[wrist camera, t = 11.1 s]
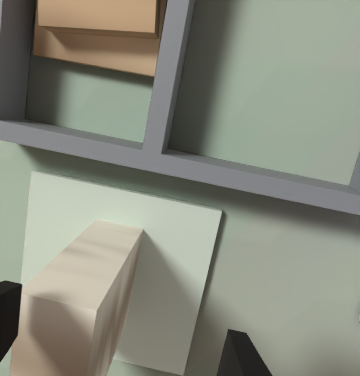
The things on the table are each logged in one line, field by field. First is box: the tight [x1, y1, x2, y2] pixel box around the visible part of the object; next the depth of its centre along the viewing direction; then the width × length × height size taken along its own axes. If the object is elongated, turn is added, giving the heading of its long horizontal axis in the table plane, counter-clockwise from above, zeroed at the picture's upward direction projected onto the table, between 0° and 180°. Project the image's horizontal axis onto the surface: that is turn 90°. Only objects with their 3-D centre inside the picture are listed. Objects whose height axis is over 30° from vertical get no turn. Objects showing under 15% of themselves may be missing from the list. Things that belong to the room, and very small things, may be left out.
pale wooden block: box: [9, 219, 143, 376], centre depth 17 cm, size 7×3×9 cm, turn 169°
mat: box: [20, 170, 222, 376], centre depth 22 cm, size 12×12×1 cm
